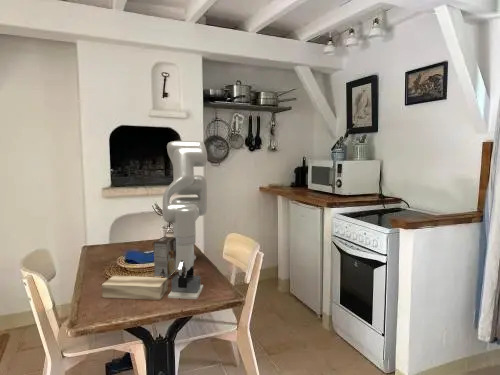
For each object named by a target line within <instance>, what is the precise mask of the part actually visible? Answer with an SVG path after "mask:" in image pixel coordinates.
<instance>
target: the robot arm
mask: <svg viewBox="0 0 500 375" xmlns="http://www.w3.org/2000/svg"><path fill="white" fill-rule="evenodd" d="M166 149H167V155H168V157H169V159H170V161H171V165H172V170H173V171H172V172H173V174H172V175H173V177H172V178H173V181H171V183H170V184H169V185H168V186H167V187H166V190H165V191H164V192H163V196H162V218H163V221H164V222H166V223H168V224H169V223H170V224H173V225H172V229H173V230H172V231H173V237H175V238H176V272H178V273H177V275H178V287H179V288H187V277H186V275H195V274H194V273H195V272H194V264H195V261H196V260H197V255H195V246H194V245H195V244H196V239H197V237H196V222H197V220H198V219H199V217H201V216H205V215H206V214H207V212H208V211H207V209H208V187H207V186H208V184H207V180H206V178H205V176H203V175H199V174H198V175H195V174H194V173H195V172H194V170H195V169H194V167H195V168H197V167H198V168H201V167H205V166H206V165H207V163H208V152H207V148H206V144H205V143H204V142H203V141H201V140H174V141H173V140H172V141H170V142H168V143H167V145H166ZM174 194H177V195H180V197H176V198H173V199H172V200H171V198H172V196H173V195H174ZM191 195H192V196H191ZM194 195H196V196H194ZM170 200H171V201H170ZM170 202H171V203H170Z"/></svg>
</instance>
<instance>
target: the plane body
mask: <svg viewBox="0 0 500 375" xmlns="http://www.w3.org/2000/svg"><path fill="white" fill-rule="evenodd" d="M168 284H169V283H168V279H167V278H161V277H155V276H134V275H112V276H111V277H109V279H107V280H106V281H104V283H102V284H101V289H102V290H101V291H102V294H101V295H102V298H106V299H107V298H110V299H111V298H112V299H127V300H129V299H131V300H153V301H161V299H162V298H163V297H164V295H165V294H166V292H167V291H168V286H169V285H168Z"/></svg>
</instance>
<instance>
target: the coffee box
mask: <svg viewBox="0 0 500 375" xmlns="http://www.w3.org/2000/svg"><path fill="white" fill-rule="evenodd" d="M153 257H154V258H153V261H154V277H155V276H163V277H165V278H167V280H169V279H170V278H171V277H172V276H171V274H172V273H173V272H174V271H175V270H176V238H175V237H171V236H163V237H160V238H158V239H157V240H155V241H153ZM170 276H171V277H170Z"/></svg>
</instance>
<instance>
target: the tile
mask: <svg viewBox="0 0 500 375" xmlns="http://www.w3.org/2000/svg"><path fill="white" fill-rule="evenodd" d="M203 289H204V284H200V290H199V291H198V293H180V292H172V290H171V291H170V292H169V294H168V295H167V298H168V299H179V298H180V300H182V299H184V300H197V299H199V296H200V294H201V293H202V291H203Z"/></svg>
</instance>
